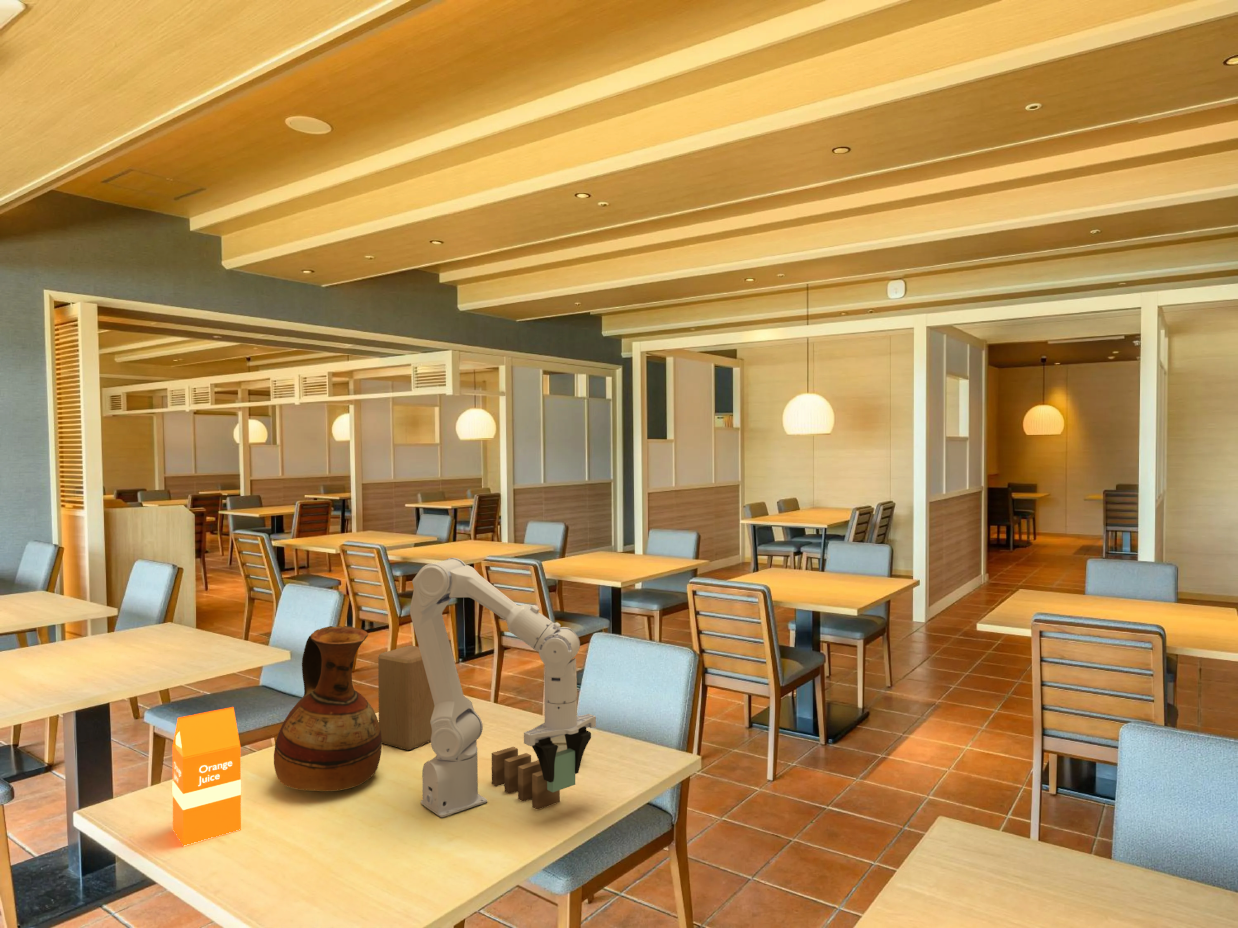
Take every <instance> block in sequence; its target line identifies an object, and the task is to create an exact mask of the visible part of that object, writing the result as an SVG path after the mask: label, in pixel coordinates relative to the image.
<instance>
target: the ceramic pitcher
mask: <svg viewBox="0 0 1238 928" xmlns="http://www.w3.org/2000/svg"><path fill="white" fill-rule="evenodd" d="M368 636H369V632H367V631H366V630H364V629H362V628H359V627H354V626H347V625H345V626H341V625H337V626H332V625H330V626H326V627H325V626H324V627H321V628H318V629H316V630H314V631H313V632H312V633H311V634H310V635H309V636H308V638H307V640H306V642H305V646H304V649H303V654H302V658H301V659H302V660H301V671H302V672H301V673H302V680H303V696H302V697H301V698H300V699H299V700H298V701H297V702H296V704H295V705H294V706H293V707H292V708H291V709H290V711H289V713H288V714H287V715H286V717H285V719H284V720H283V722H282V725H281V726H280V729H279V731H278V734H277V737H276V740H275V744H274V751H273V765H274V766H273V767H274V771H275V775H276V778H277V779H278V781H279V782H280V783H281V784H282V785H283V786H285V787H287V788H291V789H295V790H298V791H299V790H301V791H309V792H312V791H313V792H330V791H342V790H348V789H352V788H355V787H358V786H360V785H361V784H363V783H365V782H367V781H368V780H369V779H370V778H372V777H373V775H375V774H376V771H377V769H378V768H379V764H380V761H381V755H382V744H383V743H382V738H381V730H380V726H379V718H378V717H377V714H376V711H375V710H374V708H373V707H372V706H371V705H372V704H370V703H369V701H368V700H367V698H366V697H364V696H363V695H362V694H361V693H360V692H358V691H356V690H355V688H354V686H353V685H354V684H353V674H352V673H353V668H354V664H355V657H356V654H357V652H358V649H360V647H361V645H362V644H363V643H364V641H365V640H366V639H367V637H368Z"/></svg>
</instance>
